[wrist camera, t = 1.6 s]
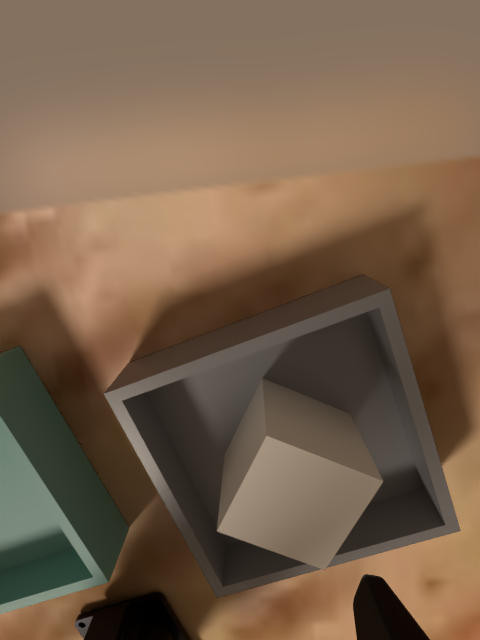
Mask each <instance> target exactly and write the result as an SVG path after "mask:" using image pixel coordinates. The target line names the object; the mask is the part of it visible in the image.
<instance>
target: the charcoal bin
mask: <svg viewBox="0 0 480 640" xmlns="http://www.w3.org/2000/svg"><path fill="white" fill-rule="evenodd" d="M262 378H263V379H266V380H268V381H271V382H273V383H276V384H278V385H281V386H283V387H285V388H288V389H290V390H293V391H295V392H298V393H300V394H303V395H305V396H308V397H310V398H313V399H315V400H318V401H320V402H323V403H325V404H327V405H330V406H332V407H335V408H337V409H340V410H342V411H345V412H347V413H350V415H351V417H352V419H353V421H354V423H355V425H356V427H357V429H358V431H359V433H360V435H361V437H362V439H363V441H364V443H365V445H366V447H367V449H368V451H369V453H370V455H371V457H372V459H373V461H374V463H375V465H376V467H377V469H378V471H379V473H380V475H381V477H382V479H383V483H382V484H381V486H380V487H379V489H378V490H377V492H376V493H375V495H374V496H373V498H372V500H371V501H370V503H369V504H368V506H367V507H366V509H365V510H364V512H363V513H362V515H361V516H360V518H359V519H358V521H357V522H356V524H355V525H354V527H353V528H352V530H351V531H350V533H349V534H348V536H347V537H346V539H345V541H344V542H343V544H342V545H341V547H340V548H339V550H338V551H337V553H336V554H335V556H334V557H333V559H332V560H331V562H330V563H329V565H328V566H327V567H331V566H335V565H338V564H342V563H345V562H349V561H353V560H356V559H360V558H364V557H367V556H371V555H375V554H378V553H382V552H385V551H389V550H393V549H396V548H400V547H404V546H407V545H411V544H415V543H418V542H422V541H425V540H429V539H433V538H436V537H440V536H444V535H447V534H451V533H455V532H458V531H460V527H459V524H458V520H457V517H456V514H455V510H454V507H453V503H452V500H451V496H450V493H449V490H448V486H447V483H446V479H445V476H444V472H443V469H442V466H441V462H440V459H439V455H438V452H437V448H436V445H435V442H434V438H433V435H432V431H431V428H430V424H429V421H428V418H427V414H426V411H425V407H424V404H423V400H422V397H421V394H420V390H419V387H418V383H417V380H416V376H415V373H414V370H413V366H412V363H411V359H410V356H409V352H408V349H407V346H406V342H405V339H404V335H403V332H402V328H401V325H400V322H399V318H398V315H397V311H396V308H395V304H394V301H393V298H392V294H391V291H390V288H388V287H386V286H384V285H382V284H380V283H379V282H377V281H375V280H373V279H371V278H369V277H368V276H366V275H364V274H363V275H360V276H358V277H355V278H352V279H350V280H347V281H345V282H342V283H339V284H337V285H334V286H331V287H329V288H326V289H323V290H321V291H318V292H315V293H313V294H310V295H307V296H305V297H302V298H299V299H297V300H294V301H291V302H289V303H286V304H283V305H281V306H278V307H275V308H273V309H270V310H268V311H265V312H262V313H260V314H257V315H254V316H252V317H249V318H246V319H244V320H241V321H238V322H236V323H233V324H230V325H228V326H225V327H222V328H220V329H217V330H214V331H212V332H209V333H206V334H204V335H201V336H198V337H196V338H193V339H191V340H188V341H185V342H183V343H180V344H177V345H175V346H172V347H169V348H167V349H164V350H161V351H159V352H156V353H153V354H151V355H148V356H145V357H143V358H140V359H137V360H135V361H132V362H129V363H128V364H127V365H126V367H125V368H124V369H123V370H122V372H121V373H120V374H119V375H118V377H117V378H116V379H115V380H114V382H113V383H112V384H111V386H110V387H109V388H108V389H107V391H106V392H105V393H104V395H105V397H106V399H107V401H108V402H109V404H110V406H111V408H112V410H113V411H114V413H115V415H116V417H117V419H118V420H119V422H120V424H121V426H122V428H123V429H124V431H125V433H126V435H127V437H128V439H129V440H130V442H131V444H132V446H133V448H134V449H135V451H136V453H137V455H138V457H139V458H140V460H141V462H142V464H143V466H144V467H145V469H146V471H147V473H148V475H149V476H150V478H151V480H152V482H153V484H154V485H155V487H156V489H157V491H158V493H159V494H160V496H161V498H162V500H163V502H164V503H165V505H166V507H167V509H168V511H169V512H170V514H171V516H172V518H173V520H174V521H175V523H176V525H177V527H178V529H179V530H180V532H181V534H182V536H183V538H184V539H185V541H186V543H187V545H188V547H189V549H190V550H191V552H192V554H193V556H194V558H195V559H196V561H197V563H198V565H199V567H200V568H201V570H202V572H203V574H204V576H205V577H206V579H207V581H208V583H209V585H210V586H211V588H212V590H213V592H214V594H215V595H216V597H217V598H218V597H222V596H226V595H229V594H233V593H236V592H240V591H244V590H247V589H251V588H255V587H258V586H262V585H266V584H269V583H273V582H276V581H280V580H284V579H287V578H291V577H295V576H298V575H302V574H306V573H309V572H313V571H316V570H320V568H318V567H315V566H312V565H309V564H306V563H304V562H301V561H298V560H295V559H292V558H290V557H287V556H284V555H281V554H279V553H276V552H273V551H270V550H267V549H265V548H262V547H259V546H256V545H253V544H251V543H248V542H245V541H242V540H240V539H237V538H234V537H231V536H228V535H226V534H223V533H220V532H217V524H218V514H219V505H220V495H221V485H222V475H223V465H224V455H225V453H226V451H227V449H228V447H229V445H230V443H231V440H232V438H233V436H234V434H235V432H236V430H237V428H238V426H239V424H240V422H241V420H242V418H243V416H244V414H245V412H246V410H247V408H248V406H249V404H250V402H251V400H252V398H253V396H254V394H255V392H256V390H257V387H258V385H259V383H260V381H261V379H262Z"/></svg>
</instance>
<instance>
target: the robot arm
mask: <svg viewBox="0 0 480 640" xmlns="http://www.w3.org/2000/svg"><path fill="white" fill-rule="evenodd" d="M353 611H354V619H355V627H356V635H357V640H430V639H429V638H428V636H427V635H426V634H425V632H424V631H423V630H422V629H421V627H420V626H419V625H418V623H417V622H416V621H415V619H414V618H413V617H412V615H411V614H410V613H409V612H408V610H407V609H406V608H405V606H404V605H403V604H402V602H401V601H400V600H399V598H398V597H397V596H396V595H395V593H394V592H393V591H392V589H391V588H390V587H389V585H388V584H387V583H386V581H385V580H384V579H383V578H381V577H379V576H374V575H368V574H365V575H364V576H363V577H362V579H361V581H360V584H359V586H358V589H357V592H356V594H355V597H354V601H353ZM75 627H76V628H77V630H78V631H79V632H80V634H81V635H82V637H83V638H84V640H190V638H189V637H188V635H187V633H186V632H185V630H184V628H183V627H182V625H181V624H180V622H179V620H178V619H177V617H176V615H175V614H174V612H173V610H172V609H171V607H170V605H169V604H168V602H167V600H166V599H165V597H164V596H163V595H162V594H160V593H153V594H149V595H146V596H142V597H139V598H135V599H131V600H128V601H124V602H121V603H117V604H114V605H110V606H107V607H103V608H100V609H96V610H93V611H89V612H86V613H82V614H80V615H78V617H77V619H76V622H75Z"/></svg>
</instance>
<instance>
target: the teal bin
mask: <svg viewBox="0 0 480 640" xmlns="http://www.w3.org/2000/svg"><path fill="white" fill-rule="evenodd" d="M128 530H129V526H128V525H127V523H126V521H125V520H124V518H123V516H122V515H121V513H120V511H119V510H118V508H117V506H116V505H115V503H114V501H113V500H112V498H111V496H110V495H109V493H108V491H107V490H106V488H105V486H104V485H103V483H102V481H101V480H100V478H99V476H98V475H97V473H96V471H95V470H94V468H93V466H92V465H91V463H90V461H89V460H88V458H87V456H86V455H85V453H84V451H83V450H82V448H81V446H80V445H79V443H78V441H77V440H76V438H75V436H74V435H73V433H72V431H71V430H70V428H69V426H68V425H67V423H66V421H65V420H64V418H63V416H62V415H61V413H60V411H59V410H58V408H57V406H56V405H55V403H54V401H53V400H52V398H51V396H50V395H49V393H48V391H47V390H46V388H45V386H44V385H43V383H42V381H41V380H40V378H39V376H38V375H37V373H36V371H35V370H34V368H33V366H32V365H31V363H30V361H29V360H28V358H27V356H26V355H25V353H24V351H23V350H22V348H21V346H18V347H16V348H13V349H11V350H8V351H6V352H3V353H1V354H0V614H2V613H6V612H9V611H12V610H16V609H19V608H23V607H26V606H29V605H33V604H36V603H40V602H43V601H47V600H50V599H53V598H57V597H60V596H64V595H67V594H70V593H74V592H77V591H81V590H84V589H87V588H91V587H94V586H98V585H101V584H105V583H108V582H109V580H110V577H111V575H112V572H113V570H114V567H115V564H116V562H117V559H118V556H119V554H120V551H121V549H122V546H123V543H124V541H125V538H126V535H127V533H128Z"/></svg>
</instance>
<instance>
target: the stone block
mask: <svg viewBox="0 0 480 640" xmlns="http://www.w3.org/2000/svg"><path fill="white" fill-rule="evenodd" d="M382 483H383V479H382V477H381V475H380V473H379V471H378V469H377V467H376V465H375V463H374V461H373V459H372V457H371V455H370V453H369V451H368V449H367V447H366V445H365V443H364V441H363V439H362V437H361V435H360V433H359V431H358V429H357V427H356V425H355V423H354V421H353V419H352V417H351V415H350V413H347V412H345V411H342V410H340V409H337V408H335V407H332V406H330V405H327V404H325V403H323V402H320V401H318V400H315V399H313V398H310V397H308V396H305V395H303V394H300V393H298V392H295V391H293V390H290V389H288V388H285V387H283V386H281V385H278V384H276V383H273V382H271V381H268V380H266V379H263V378H262V379H261V381H260V383H259V385H258V387H257V390H256V392H255V394H254V396H253V398H252V400H251V402H250V404H249V406H248V408H247V410H246V412H245V414H244V416H243V418H242V420H241V422H240V424H239V426H238V428H237V430H236V432H235V434H234V436H233V438H232V440H231V443H230V445H229V447H228V449H227V451H226V453H225V455H224V465H223V475H222V485H221V495H220V505H219V514H218V524H217V532H220V533H223V534H226V535H228V536H231V537H234V538H237V539H240V540H242V541H245V542H248V543H251V544H253V545H256V546H259V547H262V548H265V549H267V550H270V551H273V552H276V553H279V554H281V555H284V556H287V557H290V558H292V559H295V560H298V561H301V562H304V563H306V564H309V565H312V566H315V567H318V568H320V569H323V570H325V569H326V568H327V566H328V565H329V563H330V562H331V560H332V559H333V557H334V556H335V554H336V553H337V551H338V550H339V548H340V547H341V545H342V544H343V542H344V541H345V539H346V537H347V536H348V534H349V533H350V531H351V530H352V528H353V527H354V525H355V524H356V522H357V521H358V519H359V518H360V516H361V515H362V513H363V512H364V510H365V509H366V507H367V506H368V504H369V503H370V501H371V500H372V498H373V496H374V495H375V493H376V492H377V490H378V489H379V487H380V486H381V484H382Z"/></svg>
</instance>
